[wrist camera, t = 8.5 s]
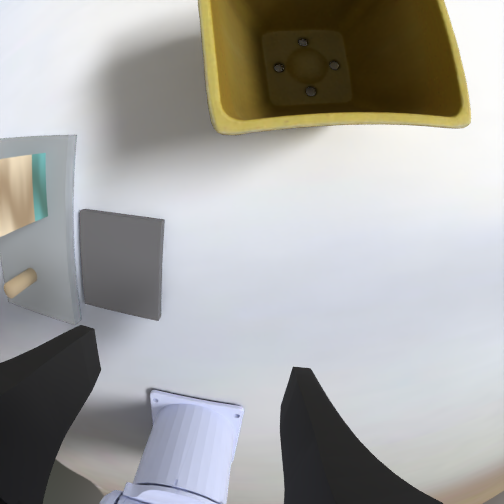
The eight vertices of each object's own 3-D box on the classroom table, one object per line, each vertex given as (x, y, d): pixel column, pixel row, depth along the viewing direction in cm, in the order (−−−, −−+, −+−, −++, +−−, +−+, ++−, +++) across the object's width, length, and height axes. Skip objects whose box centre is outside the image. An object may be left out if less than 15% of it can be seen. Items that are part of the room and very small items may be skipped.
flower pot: (222, 11, 14) (190, -75, 6) (362, 6, 13) (419, -67, 5) (238, 143, 17) (211, 138, 8) (384, 134, 16) (474, 130, 8)
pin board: (81, 318, 21) (56, 346, 18) (14, 297, 21) (-12, 317, 18) (76, 135, 17) (39, 136, 13) (4, 138, 17) (-31, 142, 13)
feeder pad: (160, 316, 21) (158, 320, 20) (88, 299, 21) (85, 303, 20) (164, 219, 18) (161, 221, 18) (84, 208, 18) (79, 210, 18)
